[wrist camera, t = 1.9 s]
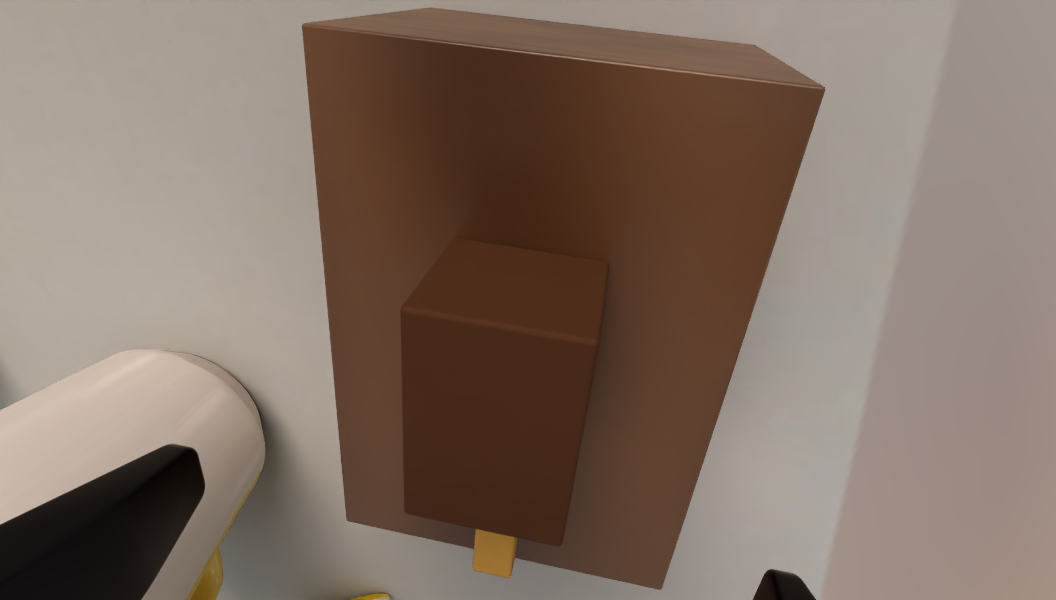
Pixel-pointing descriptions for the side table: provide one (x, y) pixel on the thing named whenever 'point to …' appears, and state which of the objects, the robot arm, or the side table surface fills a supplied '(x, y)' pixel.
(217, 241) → the side table surface
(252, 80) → the side table surface
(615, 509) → the stand
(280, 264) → the side table surface
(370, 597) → the game controller
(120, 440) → the mug
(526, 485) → the chocolate ice cream bar
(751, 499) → the side table surface
